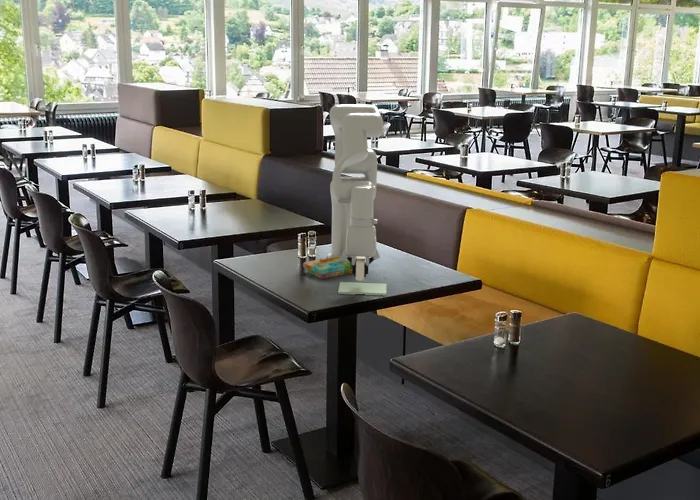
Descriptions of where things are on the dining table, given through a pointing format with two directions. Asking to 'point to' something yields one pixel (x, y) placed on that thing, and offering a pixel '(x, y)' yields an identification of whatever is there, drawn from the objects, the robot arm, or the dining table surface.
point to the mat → (362, 288)
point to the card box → (360, 268)
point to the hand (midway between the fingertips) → (360, 275)
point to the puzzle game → (328, 267)
